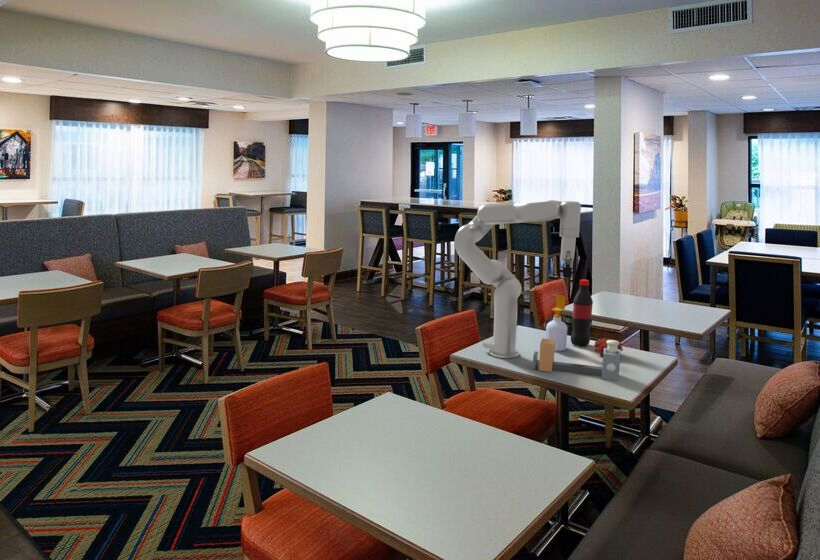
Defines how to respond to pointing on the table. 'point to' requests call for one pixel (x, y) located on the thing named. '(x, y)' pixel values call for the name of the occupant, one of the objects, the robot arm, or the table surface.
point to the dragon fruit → (603, 345)
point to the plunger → (612, 346)
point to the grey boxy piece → (611, 365)
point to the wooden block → (546, 354)
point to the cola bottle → (582, 315)
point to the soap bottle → (558, 325)
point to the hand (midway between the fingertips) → (566, 275)
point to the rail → (570, 367)
